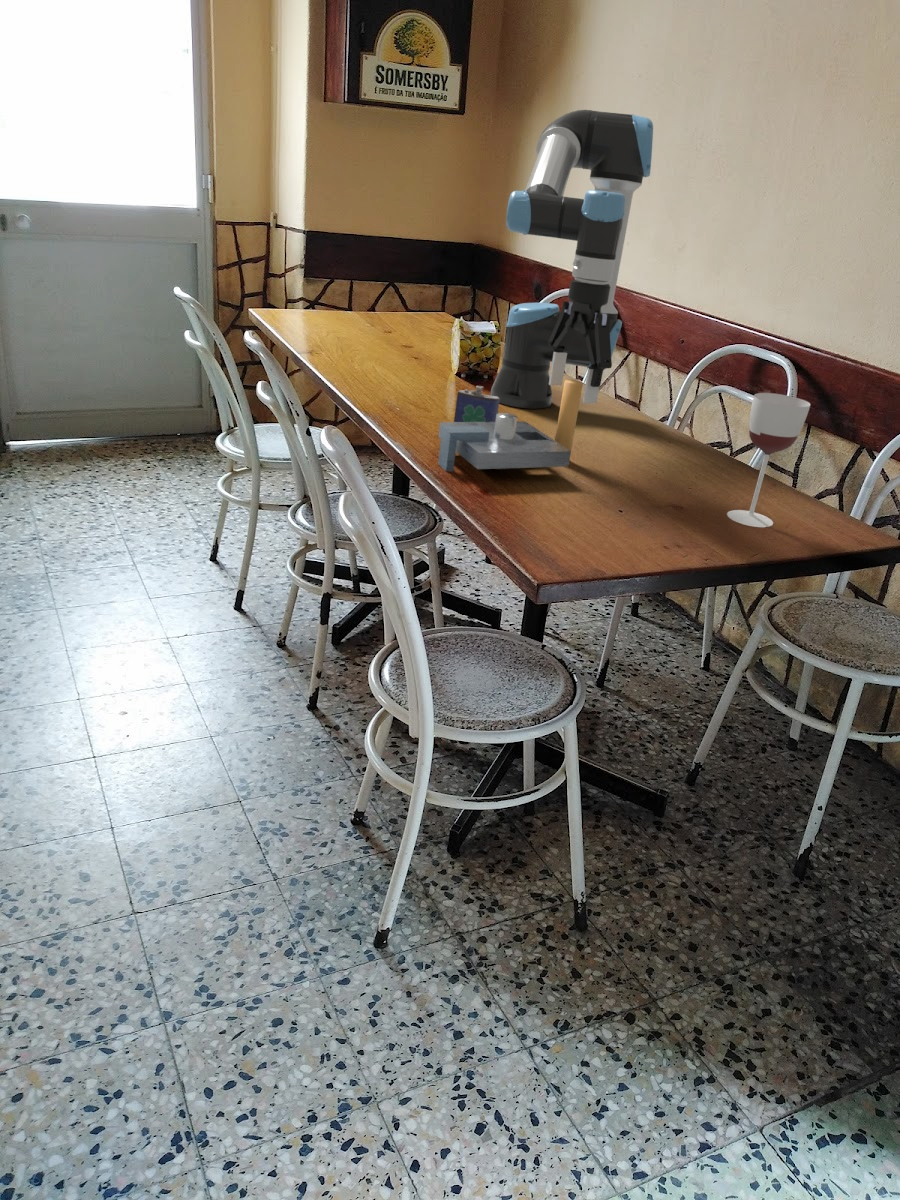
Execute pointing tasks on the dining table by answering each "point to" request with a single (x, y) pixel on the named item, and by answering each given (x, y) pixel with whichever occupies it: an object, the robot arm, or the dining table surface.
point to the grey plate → (499, 445)
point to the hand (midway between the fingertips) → (571, 393)
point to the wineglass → (771, 440)
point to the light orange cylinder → (568, 413)
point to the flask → (476, 406)
